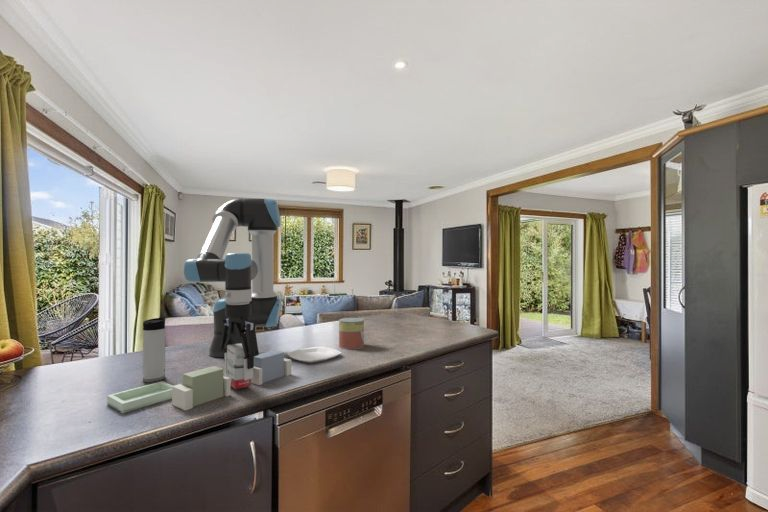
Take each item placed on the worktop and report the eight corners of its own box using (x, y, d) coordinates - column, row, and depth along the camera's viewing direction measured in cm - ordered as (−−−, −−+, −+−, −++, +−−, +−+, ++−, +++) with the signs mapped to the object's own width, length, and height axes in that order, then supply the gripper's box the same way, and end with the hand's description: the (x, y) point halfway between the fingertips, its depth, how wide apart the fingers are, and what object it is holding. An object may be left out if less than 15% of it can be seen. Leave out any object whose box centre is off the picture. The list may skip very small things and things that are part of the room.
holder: (172, 404, 100) (172, 386, 100) (278, 370, 129) (278, 356, 129) (185, 410, 96) (185, 391, 96) (291, 374, 125) (291, 359, 125)
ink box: (251, 386, 111) (251, 347, 111) (234, 389, 108) (234, 350, 108) (242, 378, 118) (242, 342, 118) (226, 382, 115) (226, 344, 114)
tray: (107, 404, 100) (107, 395, 100) (162, 389, 111) (162, 381, 111) (122, 413, 94) (122, 403, 94) (178, 396, 106) (178, 387, 106)
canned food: (363, 349, 159) (363, 321, 159) (337, 349, 159) (337, 321, 159) (364, 343, 170) (364, 317, 170) (340, 343, 170) (340, 317, 170)
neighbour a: (182, 402, 101) (182, 373, 101) (213, 392, 109) (213, 366, 109) (192, 407, 98) (192, 377, 98) (223, 396, 106) (223, 368, 106)
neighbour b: (251, 380, 119) (251, 356, 119) (274, 373, 127) (274, 350, 127) (261, 383, 116) (261, 358, 116) (283, 376, 124) (283, 352, 124)
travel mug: (170, 377, 123) (170, 317, 123) (152, 383, 117) (152, 320, 117) (156, 375, 125) (156, 316, 125) (138, 381, 119) (138, 319, 119)
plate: (348, 357, 148) (348, 352, 148) (308, 368, 134) (308, 362, 134) (319, 349, 161) (319, 344, 161) (280, 358, 147) (280, 353, 147)
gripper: (207, 301, 116) (207, 372, 116) (249, 307, 103) (249, 386, 103) (229, 299, 122) (229, 366, 122) (271, 304, 109) (271, 379, 110)
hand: (238, 375), depth 113 cm, fingers closed on ink box, 9 cm apart
